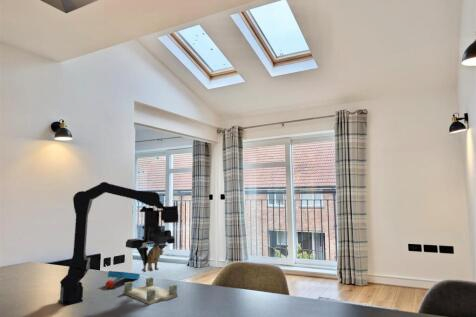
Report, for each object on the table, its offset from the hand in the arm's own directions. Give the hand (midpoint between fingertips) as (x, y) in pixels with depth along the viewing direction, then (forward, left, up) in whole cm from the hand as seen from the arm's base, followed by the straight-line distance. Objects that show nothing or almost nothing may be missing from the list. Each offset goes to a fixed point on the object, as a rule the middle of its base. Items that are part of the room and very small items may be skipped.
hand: (150, 264), depth 124 cm
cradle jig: (0, 0, -12) cm, 12 cm away
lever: (+1, +25, -12) cm, 27 cm away
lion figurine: (+1, -1, -3) cm, 3 cm away
